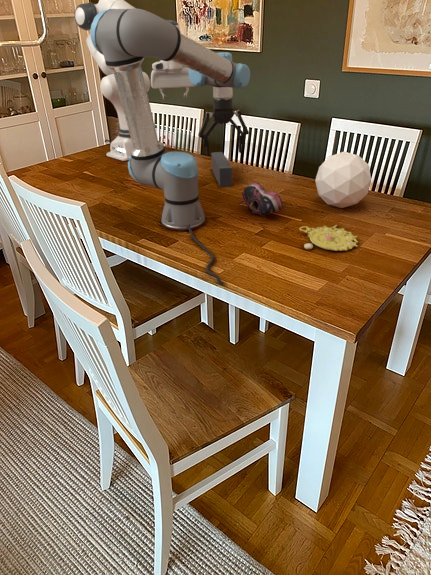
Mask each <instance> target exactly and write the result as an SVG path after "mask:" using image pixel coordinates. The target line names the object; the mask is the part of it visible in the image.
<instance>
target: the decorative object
mask: <svg viewBox="0 0 431 575" xmlns="http://www.w3.org/2000/svg"><path fill="white" fill-rule="evenodd" d="M303 228H304V229H305V230H304V229H303ZM299 231H300V232H303V233H305V234H307V237H308V238H309V240H310V241H311V243H304V244H303V248H304V249H305V250H313V249H314V245H315V246H316V247H318V248H321V249H324V250H328V251H335V252H341V251H348V250H352V249H354V247H356V248H358V247H359V245H358V244H357V243H359V240H357V238H359V237H358V235H353V234H352V231H347V230H346V229H345V228H344V227H342V228H338V224H335V225H333V226H331V227H328V226H327V225H326V224H325V225H323V226H322V227H321V226H317V227H316V228H314V227H309V226H308V225H302V226H300V227H299ZM313 244H314V245H313Z"/></svg>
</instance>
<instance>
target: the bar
mask: <svg viewBox="0 0 431 575" xmlns="http://www.w3.org/2000/svg"><path fill="white" fill-rule="evenodd" d="M210 158H211V161H210V162H211V171H212V173H213V175H214V177H215V179H216V181H217V183H218V186H219V187H220V188H224V187H233V167H232V165H231V163H230V162H229V160H228V159H227V157H226V155H225V154H224V152H223V151H215V152H211V153H210Z"/></svg>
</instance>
